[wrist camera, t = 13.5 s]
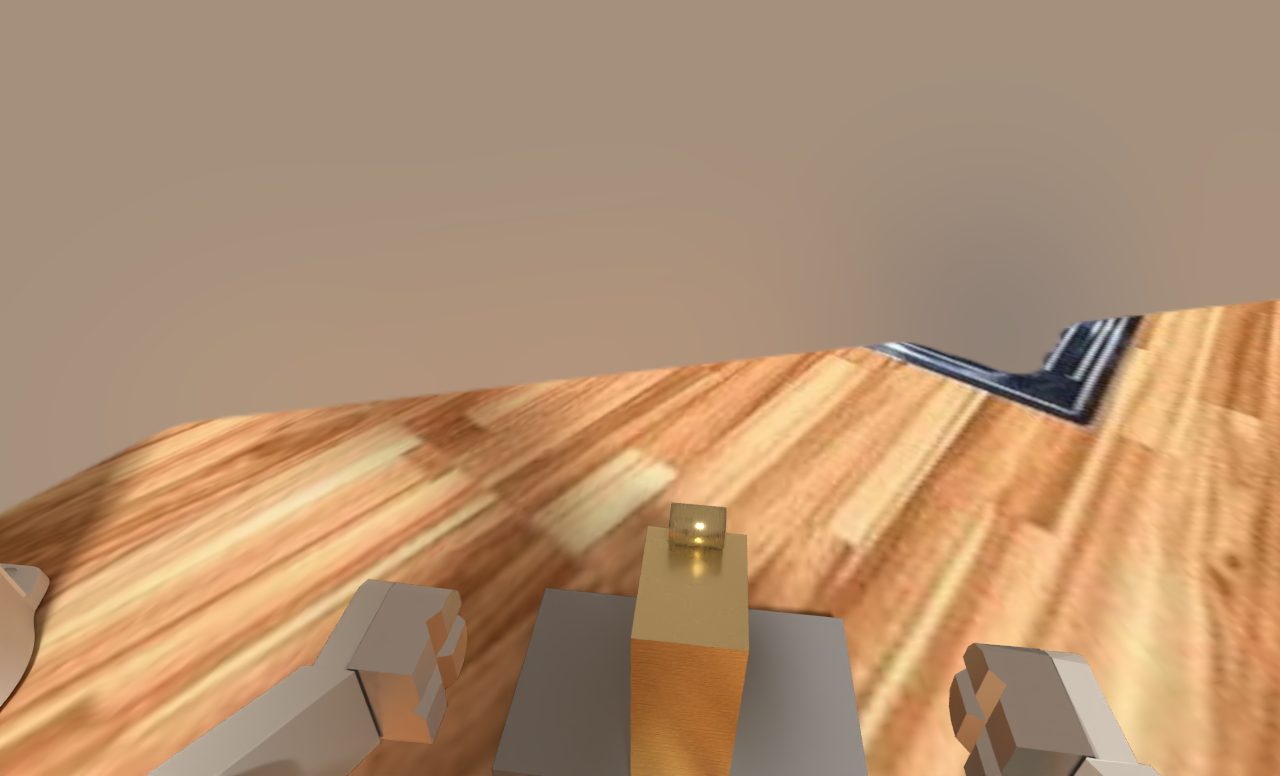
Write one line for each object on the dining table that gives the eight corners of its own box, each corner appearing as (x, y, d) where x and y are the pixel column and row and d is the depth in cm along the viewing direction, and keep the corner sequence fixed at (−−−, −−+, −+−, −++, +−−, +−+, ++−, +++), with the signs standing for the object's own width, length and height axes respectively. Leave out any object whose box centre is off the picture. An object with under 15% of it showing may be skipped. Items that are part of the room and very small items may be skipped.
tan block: (630, 783, 32) (631, 607, 24) (645, 665, 37) (648, 491, 30) (725, 795, 31) (753, 620, 24) (726, 674, 36) (750, 501, 29)
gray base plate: (494, 781, 33) (467, 657, 27) (547, 600, 42) (534, 480, 36) (869, 831, 31) (921, 709, 25) (838, 631, 40) (872, 510, 35)
